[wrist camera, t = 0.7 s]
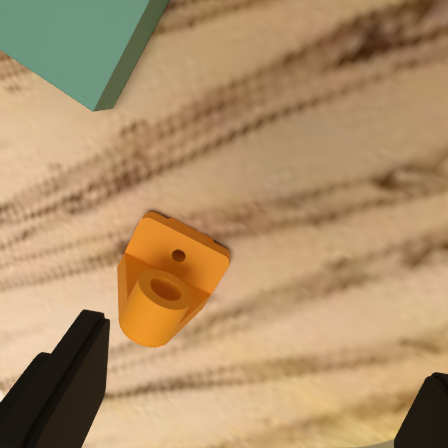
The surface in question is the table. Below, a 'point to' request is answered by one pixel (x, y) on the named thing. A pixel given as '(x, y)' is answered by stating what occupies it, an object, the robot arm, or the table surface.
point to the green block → (80, 42)
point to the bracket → (166, 278)
